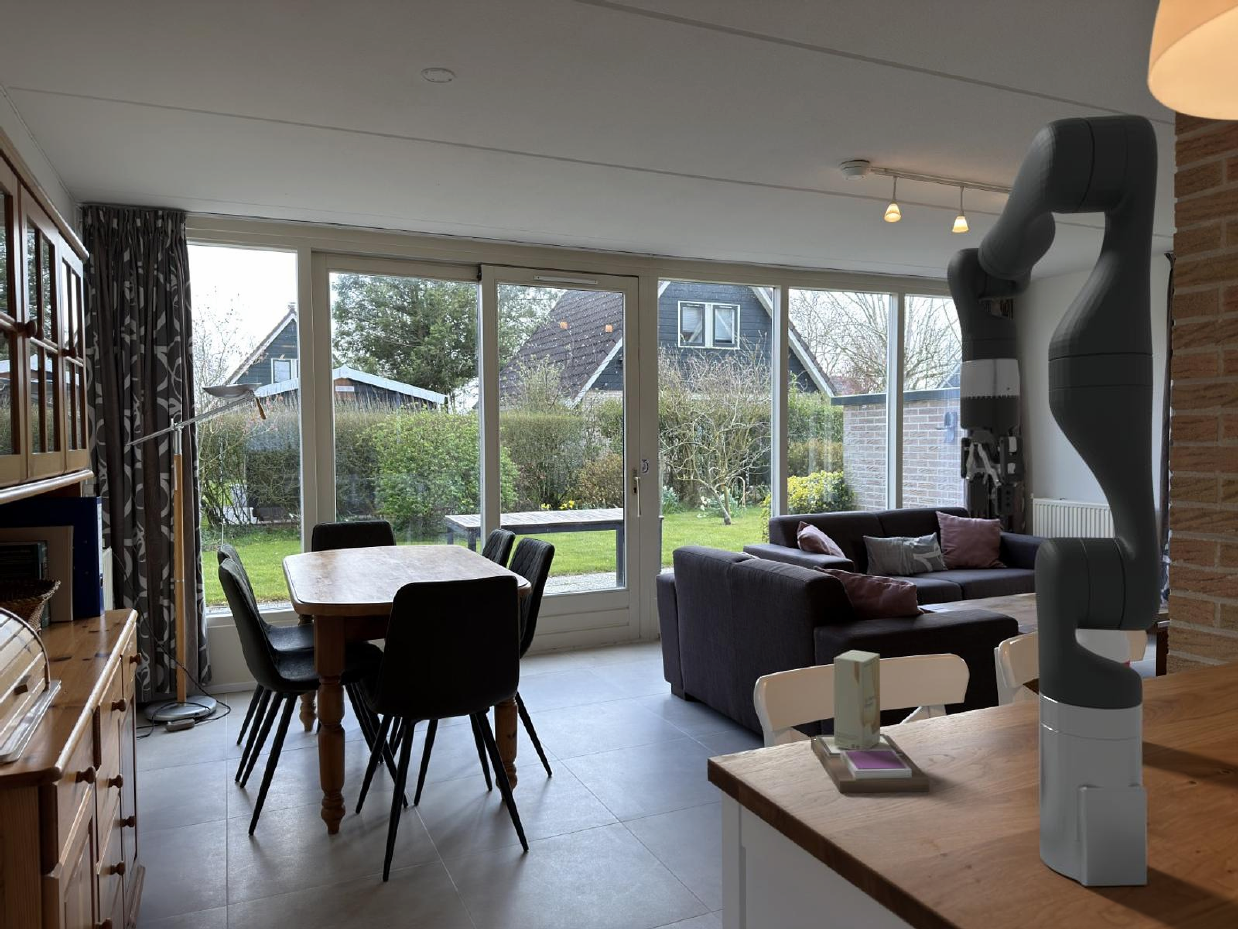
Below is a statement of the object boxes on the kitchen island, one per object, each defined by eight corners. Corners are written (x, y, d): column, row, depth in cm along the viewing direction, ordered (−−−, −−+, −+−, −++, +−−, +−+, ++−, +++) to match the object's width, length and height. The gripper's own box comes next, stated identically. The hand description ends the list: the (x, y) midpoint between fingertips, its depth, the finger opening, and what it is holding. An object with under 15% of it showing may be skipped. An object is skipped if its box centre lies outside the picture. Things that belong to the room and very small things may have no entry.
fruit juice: (1130, 734, 126) (1130, 542, 126) (1129, 755, 118) (1129, 549, 117) (1057, 725, 131) (1057, 539, 130) (1052, 744, 123) (1051, 546, 122)
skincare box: (863, 754, 116) (862, 662, 115) (833, 747, 118) (832, 657, 118) (882, 740, 121) (881, 652, 120) (852, 734, 123) (851, 648, 123)
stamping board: (929, 791, 107) (929, 770, 107) (840, 793, 107) (839, 772, 107) (888, 745, 123) (888, 727, 123) (810, 747, 123) (810, 729, 123)
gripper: (1042, 391, 112) (1043, 516, 113) (994, 396, 126) (994, 508, 127) (984, 392, 112) (985, 517, 113) (942, 397, 126) (943, 509, 127)
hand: (990, 512), depth 120 cm, fingers open, 8 cm apart
